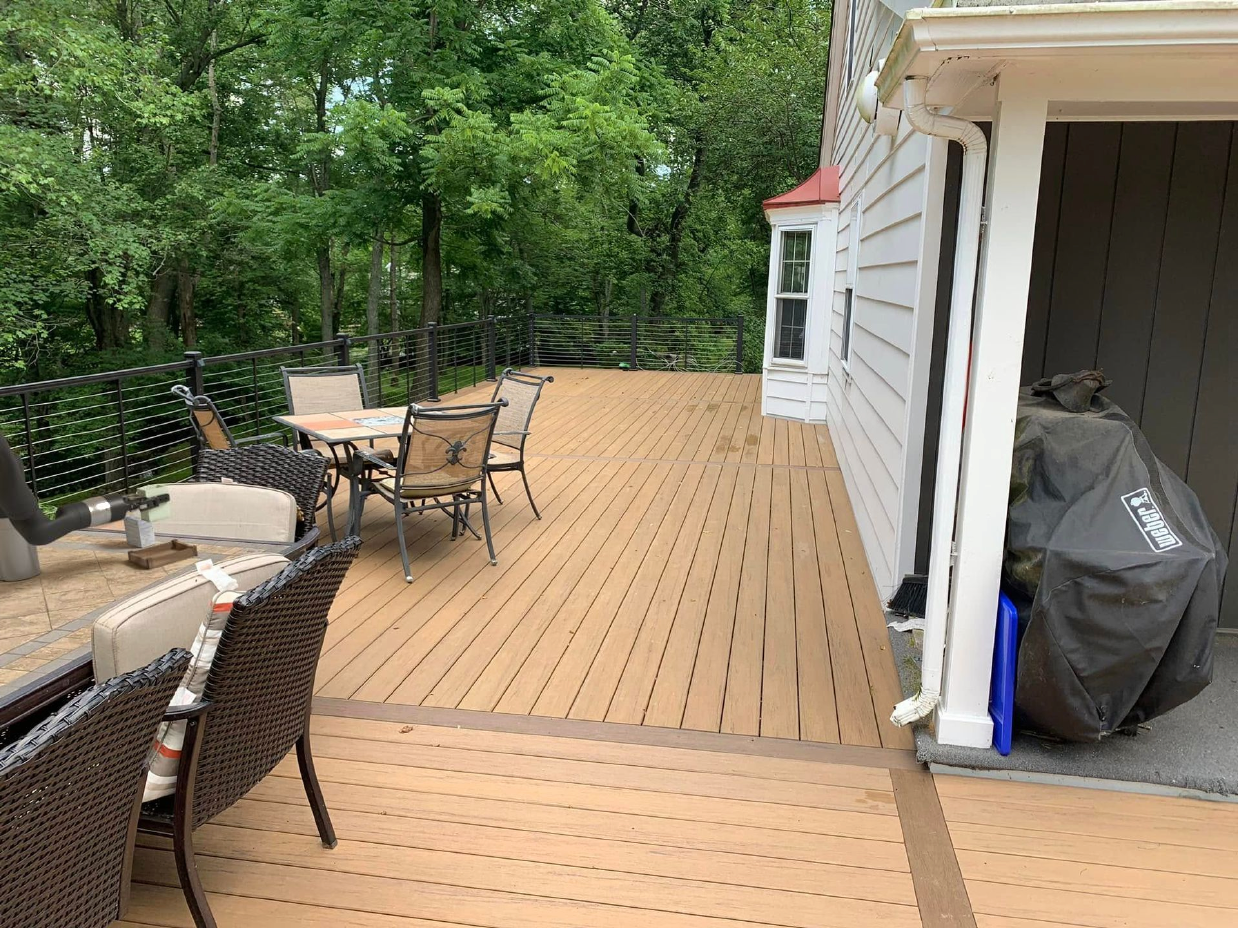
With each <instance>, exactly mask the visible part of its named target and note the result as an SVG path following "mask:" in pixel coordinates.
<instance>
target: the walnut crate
mask: <svg viewBox="0 0 1238 928" xmlns="http://www.w3.org/2000/svg"><path fill="white" fill-rule="evenodd" d="M197 547H198V546H197V545H194V544H193V545H191V544H189V543H186V542H182V541H179V540H178V539H177V538H174V539H171V540H170V541H167V542H163V543H160V544H157V545H156V544H155V545H151V546H148V547H144V548H141V549H137V550H128V551H127V558H128V562H129V563H131V564H134V565H136V566H140V567H142V568H144V569H147V570H153V569H157V568H160V567H164V566H167V565H171V564H175V563H177V562H181V561H184V560H189V559H192V558H194V557H193V556H196V557H198V556H199V555H198V554H199V553H198V548H197ZM191 557H192V558H191ZM188 558H189V559H188Z"/></svg>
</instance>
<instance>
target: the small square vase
mask: <svg viewBox="0 0 1238 928" xmlns="http://www.w3.org/2000/svg"><path fill="white" fill-rule="evenodd" d="M165 493H167V494H169V495H170V493H169V486H168V485H164V484H160V483H156V484H151V485H147V486H142V487H137V488H136V494H138V497H139V496H146V497H151V496H157V495H161V494H165ZM142 501H144V499H142ZM170 501H171V500H170ZM170 501H168V502H164V503H160V504H159V507H156V508H152V509H149V510H146V511H143V512H140V511H139V514H141V520H143V521H146V522H149V523H151V522H152V523H155V522H159V521H163V520H167V519H172V518H173V517H172V516H173V515H172V508H171V503H170Z"/></svg>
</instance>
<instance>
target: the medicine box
mask: <svg viewBox="0 0 1238 928" xmlns="http://www.w3.org/2000/svg"><path fill="white" fill-rule="evenodd" d="M122 521H123V525H124V530H125V539H126V544H127V545H130V546H133V547H138V548H141V549H144V548H148V547H152V546H156V544H157V542H156V537H155V531H154V525H153V524H154V522H151V523H149V522H146V521H143V520H141V514H140V513H133V514H128V515H126V516H125V518H124V519H123V520H122Z"/></svg>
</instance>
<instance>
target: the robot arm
mask: <svg viewBox="0 0 1238 928" xmlns="http://www.w3.org/2000/svg"><path fill="white" fill-rule="evenodd" d="M142 499H144V501H142ZM168 501H171V496H170V493H169V494H167V493H165V494H161V495H157V496H151V497H146V496H139V497H138V494H137V492H132V493H128V494H127V493H126V494H122V495H121V494H119V493H117V492H111V493H106V494H102V495H99V496H95V497H90V498H86V499H84V500H81V501H77V502H72V503H71V502H70V503H67V504H64V505H60V506H59V507H57V509H56V510H55V512H54V513H55V514H54V517H55V518H54V519H50V518H49V517H48V516H47V515H46V514H45V512H44V511H43V510H42V509H41V508H40V506H39V502H38V500H37V498H36V496H35V495H34V494H33V492H32V491H31V488H30V487H29V485H28V484H27V483H26V477H25V466H24V462H23V459H22V457H21V455H20V454H18V453H16V452H13V451H12V449H11V446H10V444H9V443H8V440H7V439H6V437H5V435H4V434H3V431H2V430H1V429H0V579H1V581H3V580H5V581H4V582H14V581H15V582H16V581H22V580H26V579H30V578H33V577H36V576H39V574H41V572H42V570H41V565H40V564H41V563H40V560H39V559H40V558H39V554H38V552H39V551H38V548H37V546H38V547H40V546H47V545H50V544H52V543H53V542H56V541H57V540H59V539H61V538H63V537H65V536H66V535H68V534H70V533H72V532H76V531H79V530H84V529H87V528H94V527H99V526H104V525H107V524H112V523H116V522H119V521H124V520H123V519H124V518H125V516H127V513H128V512H129V513H134V512H138V511H139V513H140V512H143V511H146V510H149V509H152V508H156V507H159V504H160V503H164V502H168Z"/></svg>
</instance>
